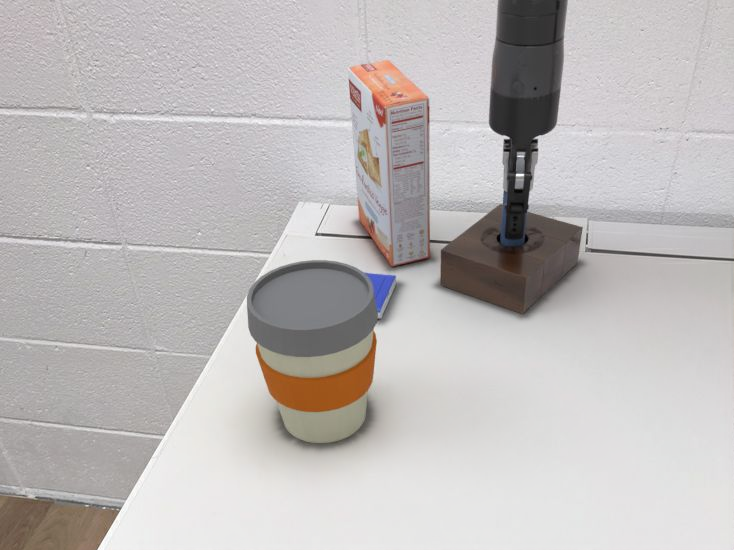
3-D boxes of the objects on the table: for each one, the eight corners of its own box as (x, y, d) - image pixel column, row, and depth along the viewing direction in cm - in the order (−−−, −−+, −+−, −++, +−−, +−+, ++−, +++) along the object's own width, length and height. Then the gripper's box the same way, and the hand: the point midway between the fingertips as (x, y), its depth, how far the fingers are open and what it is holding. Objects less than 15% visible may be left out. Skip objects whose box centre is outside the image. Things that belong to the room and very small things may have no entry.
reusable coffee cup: (407, 412, 86) (404, 288, 75) (320, 473, 80) (304, 349, 69) (327, 365, 92) (314, 245, 81) (242, 418, 86) (216, 297, 76)
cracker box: (356, 222, 115) (345, 65, 100) (395, 213, 116) (391, 57, 101) (388, 269, 106) (382, 104, 91) (431, 259, 107) (432, 94, 92)
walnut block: (497, 238, 110) (500, 203, 106) (577, 263, 104) (583, 227, 100) (440, 285, 102) (440, 249, 99) (522, 314, 97) (526, 277, 93)
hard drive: (283, 299, 99) (380, 309, 97) (303, 265, 105) (396, 273, 102) (285, 310, 101) (380, 320, 98) (305, 275, 106) (396, 284, 103)
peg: (506, 251, 103) (511, 183, 97) (527, 257, 102) (533, 189, 95) (494, 261, 102) (498, 193, 95) (515, 268, 100) (520, 199, 94)
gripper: (563, 106, 81) (545, 260, 94) (559, 58, 91) (543, 203, 103) (488, 107, 82) (480, 259, 95) (492, 59, 92) (484, 203, 104)
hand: (513, 229), depth 99 cm, fingers closed on peg, 3 cm apart
